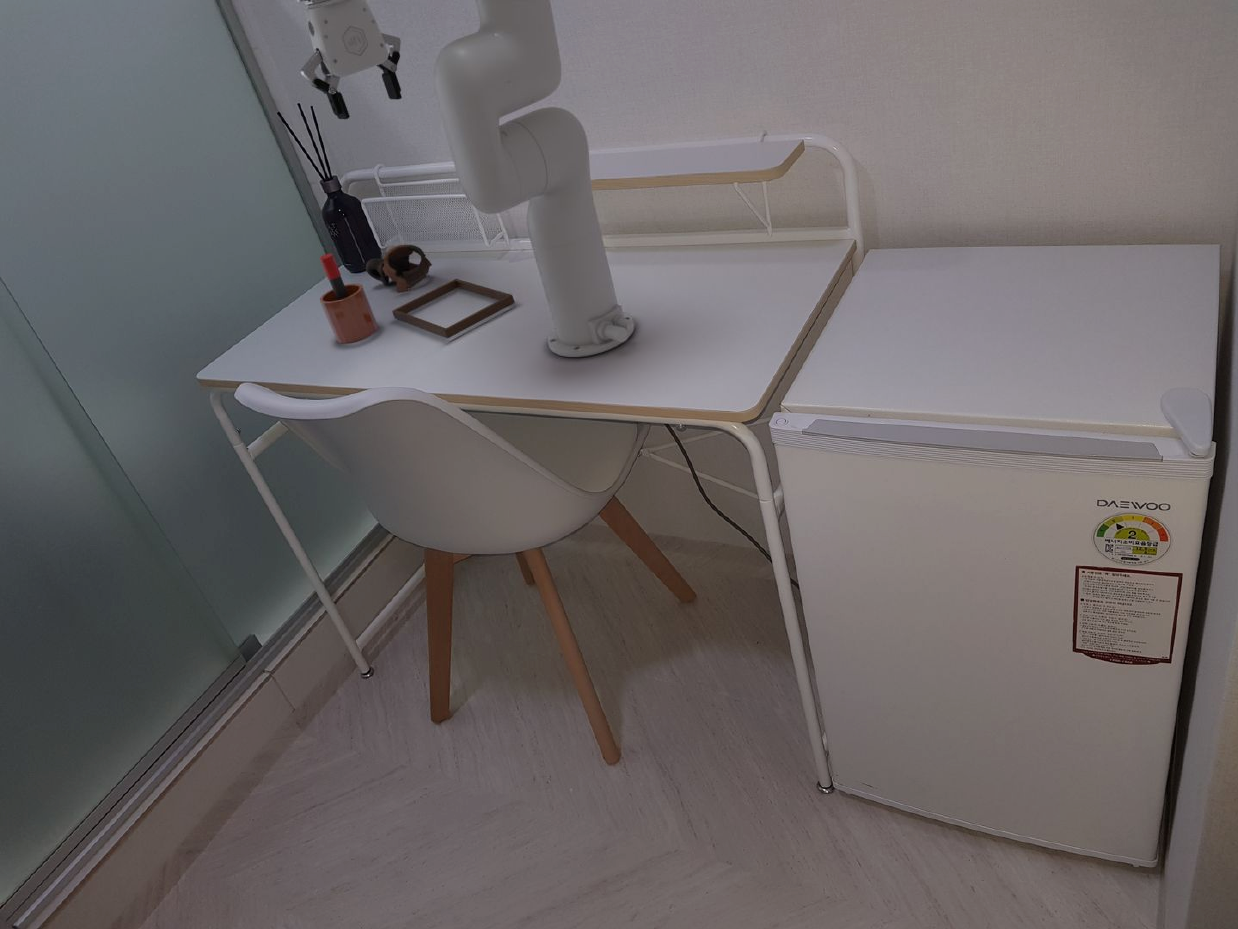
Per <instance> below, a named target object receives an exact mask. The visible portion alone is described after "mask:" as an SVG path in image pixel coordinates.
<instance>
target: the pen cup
mask: <svg viewBox="0 0 1238 929" xmlns="http://www.w3.org/2000/svg"><path fill="white" fill-rule="evenodd" d="M344 285H345V288H346V290H347V293H348V295H349V297H347V298H344V299H341V300H337V298H336V295H335V293H334V290H333V288H332V289H330V290H328V291H327V292H325V293H324V294H322V296H320V298H319V303H320V304H321V307H322V309H323V312H324V314H325V316H326V318H327V321H328V324H329V326H330V328H331V330H332V332H333V334H334V337H335V339H336V341H337V342H338V343H340V344H352V343H357V342H360V341H363V340H365V339H367V338H369V337H371V336H372V335H374V334H375V333H376V332H377V331H378V330H379V325H378V322H377V319H376V316H375V315H374V312H373V309H372V307H371V305H370V304H371V303H370V301H369V298H368V297H367V294H366V292H365V290H364V289H365V288H364V287H363V284H361V283H348V284H344Z"/></svg>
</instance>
